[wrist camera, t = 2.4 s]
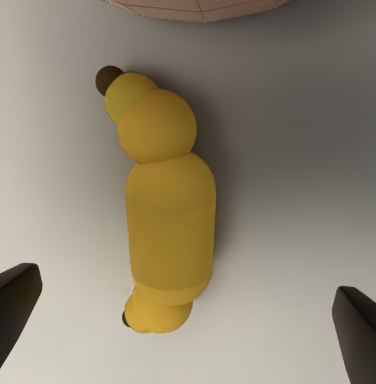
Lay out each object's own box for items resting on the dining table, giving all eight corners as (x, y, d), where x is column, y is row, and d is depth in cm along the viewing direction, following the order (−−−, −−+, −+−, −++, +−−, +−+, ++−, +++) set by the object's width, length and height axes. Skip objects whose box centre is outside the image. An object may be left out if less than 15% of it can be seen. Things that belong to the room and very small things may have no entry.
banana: (221, 328, 15) (184, 386, 12) (149, 295, 17) (104, 337, 14) (240, 66, 10) (187, 67, 8) (137, 65, 12) (68, 65, 10)
